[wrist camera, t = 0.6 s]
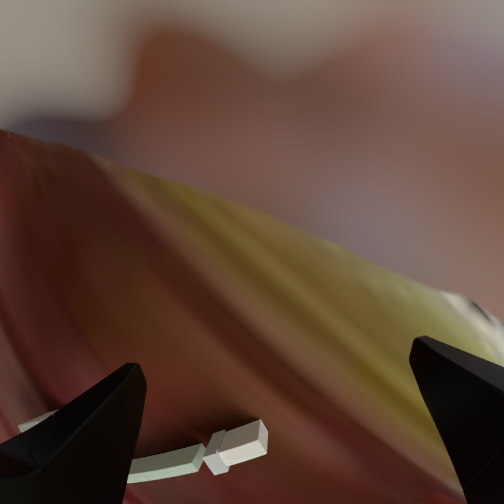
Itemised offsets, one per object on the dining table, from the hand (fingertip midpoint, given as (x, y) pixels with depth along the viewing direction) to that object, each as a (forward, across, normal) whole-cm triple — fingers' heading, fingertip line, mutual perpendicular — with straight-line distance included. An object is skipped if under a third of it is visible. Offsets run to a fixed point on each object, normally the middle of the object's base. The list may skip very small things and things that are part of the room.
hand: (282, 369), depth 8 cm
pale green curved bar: (+8, +12, +19) cm, 24 cm away
